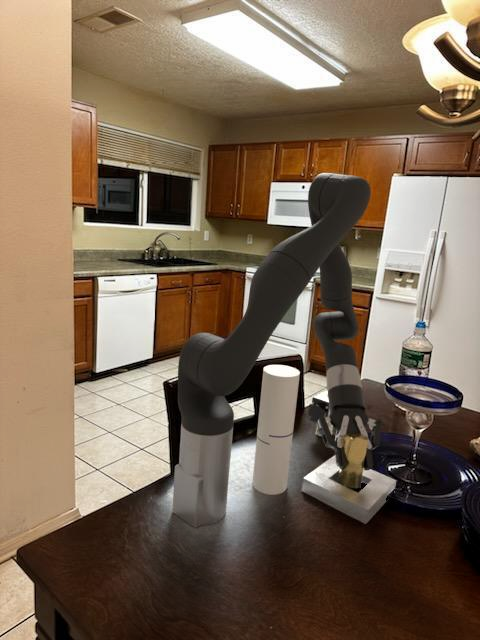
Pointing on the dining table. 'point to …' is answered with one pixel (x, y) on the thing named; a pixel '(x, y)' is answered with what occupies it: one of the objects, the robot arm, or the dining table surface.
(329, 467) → the frame
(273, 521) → the dining table surface
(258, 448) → the cylindrical container
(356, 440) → the tan piece
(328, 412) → the pneumatic valve
